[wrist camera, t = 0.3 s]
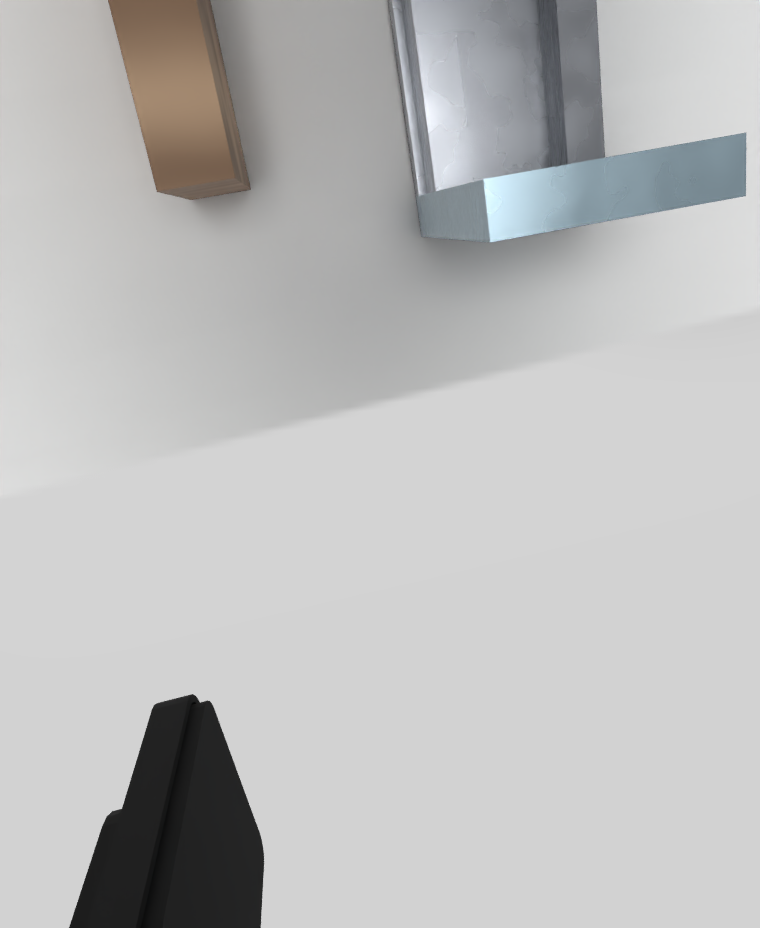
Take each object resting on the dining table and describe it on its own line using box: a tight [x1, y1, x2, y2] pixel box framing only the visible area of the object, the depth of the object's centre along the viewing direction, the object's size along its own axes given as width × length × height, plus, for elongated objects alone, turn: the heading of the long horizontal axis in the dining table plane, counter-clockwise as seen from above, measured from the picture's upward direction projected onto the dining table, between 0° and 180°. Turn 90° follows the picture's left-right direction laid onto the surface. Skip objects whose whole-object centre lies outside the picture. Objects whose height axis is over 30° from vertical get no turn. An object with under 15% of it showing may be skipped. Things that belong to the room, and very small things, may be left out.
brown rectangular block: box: [108, 0, 251, 200], centre depth 29 cm, size 14×3×9 cm, turn 10°
